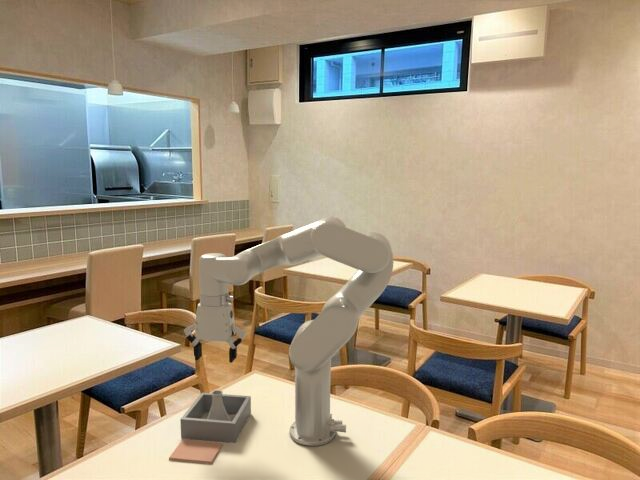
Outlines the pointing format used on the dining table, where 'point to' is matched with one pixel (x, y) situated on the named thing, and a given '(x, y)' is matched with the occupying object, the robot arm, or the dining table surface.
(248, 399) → the box frame
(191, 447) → the mat
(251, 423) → the dining table surface
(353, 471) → the dining table surface
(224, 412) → the flask
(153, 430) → the dining table surface
